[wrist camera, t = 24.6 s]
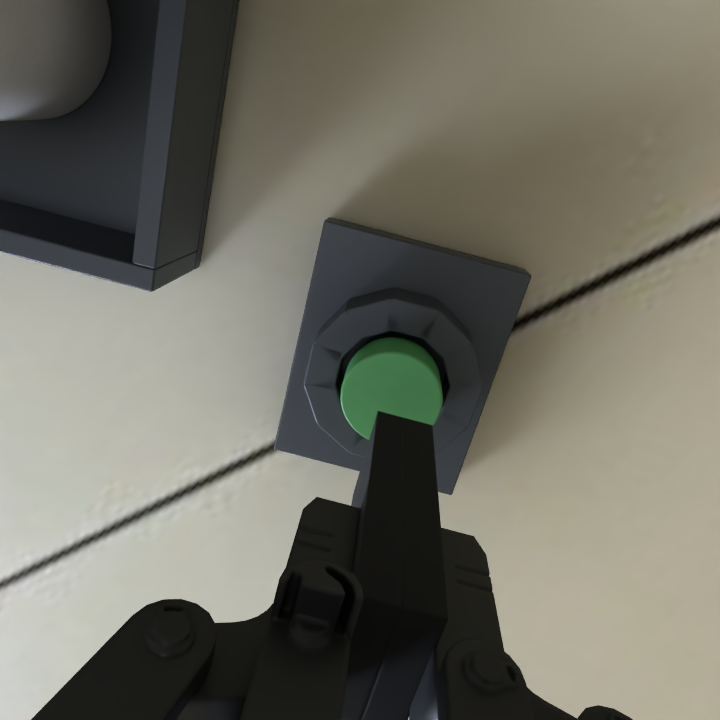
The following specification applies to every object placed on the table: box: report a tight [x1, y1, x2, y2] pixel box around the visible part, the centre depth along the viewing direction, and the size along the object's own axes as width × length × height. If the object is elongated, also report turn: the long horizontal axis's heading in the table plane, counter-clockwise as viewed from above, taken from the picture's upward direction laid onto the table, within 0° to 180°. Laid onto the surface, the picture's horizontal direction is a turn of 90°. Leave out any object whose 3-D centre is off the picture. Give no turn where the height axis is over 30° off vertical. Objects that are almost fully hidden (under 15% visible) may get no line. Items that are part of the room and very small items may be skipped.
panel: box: [274, 218, 531, 495], centre depth 22 cm, size 10×8×3 cm
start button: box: [340, 337, 443, 439], centre depth 21 cm, size 4×4×2 cm
